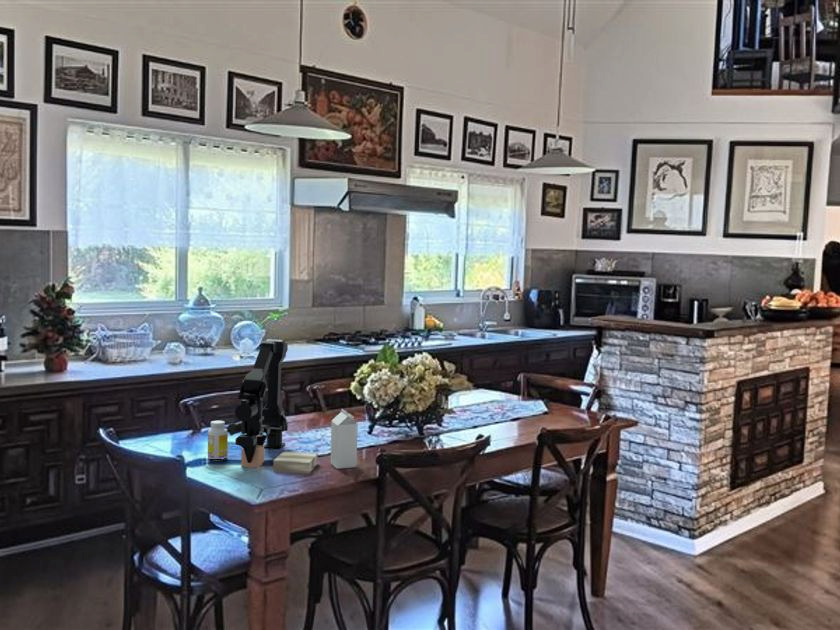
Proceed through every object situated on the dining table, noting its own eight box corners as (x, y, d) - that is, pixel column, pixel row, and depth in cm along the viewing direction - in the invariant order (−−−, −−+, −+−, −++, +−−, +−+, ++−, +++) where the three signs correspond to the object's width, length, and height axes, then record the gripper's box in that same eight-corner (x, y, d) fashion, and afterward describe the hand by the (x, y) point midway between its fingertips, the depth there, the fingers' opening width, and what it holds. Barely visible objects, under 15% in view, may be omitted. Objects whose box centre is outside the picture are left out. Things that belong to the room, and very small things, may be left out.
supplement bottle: (229, 455, 285) (229, 419, 283) (225, 461, 278) (225, 424, 277) (209, 455, 284) (210, 419, 283) (205, 460, 278) (205, 423, 277)
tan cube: (247, 461, 279) (247, 444, 278) (264, 462, 278) (264, 445, 278) (241, 466, 273) (241, 448, 272) (258, 467, 272) (258, 450, 272)
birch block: (283, 462, 280) (283, 451, 280) (317, 464, 279) (317, 453, 279) (273, 472, 269) (273, 460, 268) (308, 474, 267) (308, 463, 267)
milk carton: (336, 469, 273) (338, 413, 271) (330, 463, 280) (331, 409, 278) (356, 467, 276) (358, 412, 274) (350, 461, 282) (351, 408, 281)
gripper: (240, 407, 284) (239, 451, 286) (220, 419, 266) (219, 465, 267) (270, 409, 283) (270, 453, 284) (253, 421, 264) (252, 468, 266)
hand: (252, 459), depth 275 cm, fingers open, 7 cm apart
